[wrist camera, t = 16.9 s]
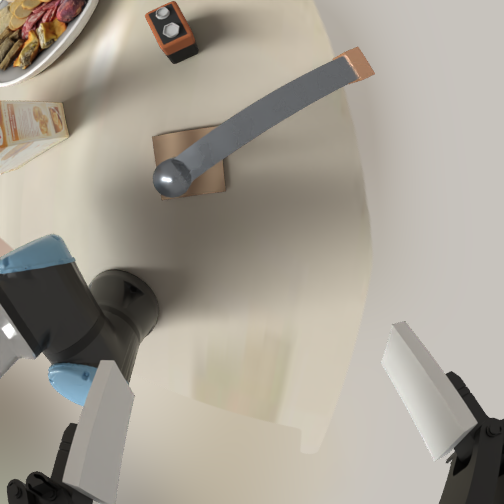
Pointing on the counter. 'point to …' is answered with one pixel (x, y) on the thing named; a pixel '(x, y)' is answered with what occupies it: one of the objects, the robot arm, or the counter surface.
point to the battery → (172, 32)
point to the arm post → (180, 142)
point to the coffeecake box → (29, 131)
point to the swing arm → (258, 121)
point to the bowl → (37, 34)
